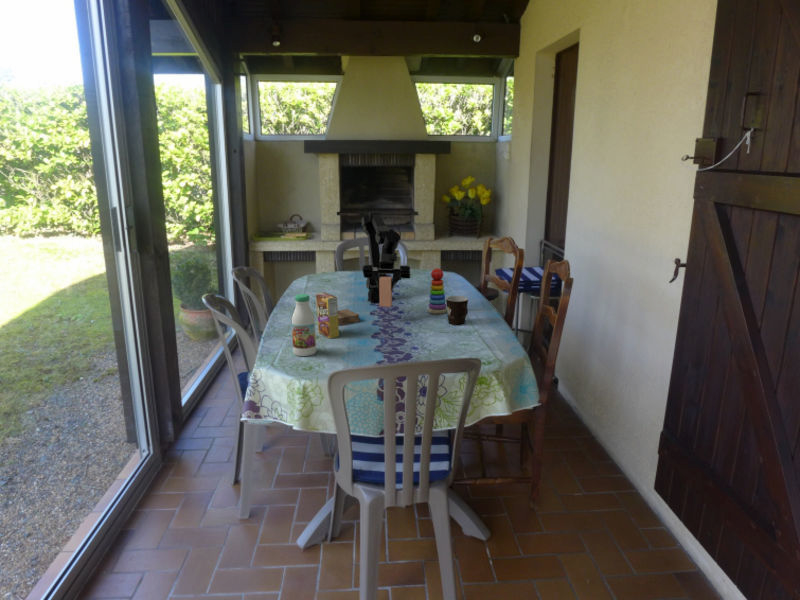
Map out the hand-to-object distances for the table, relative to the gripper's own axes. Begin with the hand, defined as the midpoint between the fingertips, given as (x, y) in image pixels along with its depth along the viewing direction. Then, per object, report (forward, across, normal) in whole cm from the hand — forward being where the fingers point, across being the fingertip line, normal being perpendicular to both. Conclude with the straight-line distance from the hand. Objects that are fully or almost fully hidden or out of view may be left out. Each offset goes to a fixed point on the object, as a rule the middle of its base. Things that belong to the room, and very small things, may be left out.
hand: (385, 289), depth 217 cm
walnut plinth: (+9, -18, +10) cm, 22 cm away
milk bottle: (+35, -24, -16) cm, 45 cm away
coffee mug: (+10, +28, +9) cm, 31 cm away
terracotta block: (+4, 0, +6) cm, 7 cm away
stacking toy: (-2, +20, +21) cm, 29 cm away
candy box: (+22, -20, -2) cm, 29 cm away
